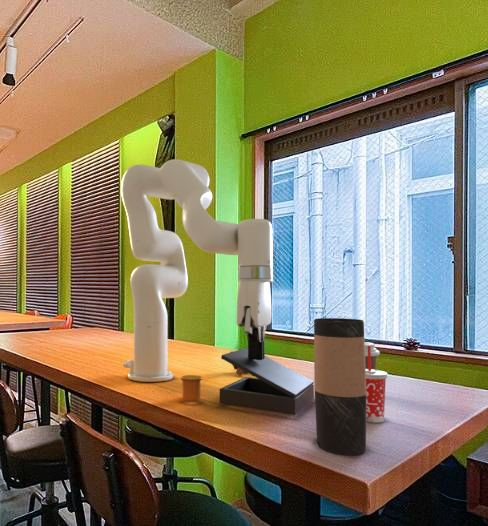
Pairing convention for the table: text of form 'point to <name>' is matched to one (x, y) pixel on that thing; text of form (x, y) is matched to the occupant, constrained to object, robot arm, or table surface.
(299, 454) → the table surface
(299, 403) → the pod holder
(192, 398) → the orange brown spool
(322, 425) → the travel mug
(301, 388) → the lid
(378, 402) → the beverage cup
